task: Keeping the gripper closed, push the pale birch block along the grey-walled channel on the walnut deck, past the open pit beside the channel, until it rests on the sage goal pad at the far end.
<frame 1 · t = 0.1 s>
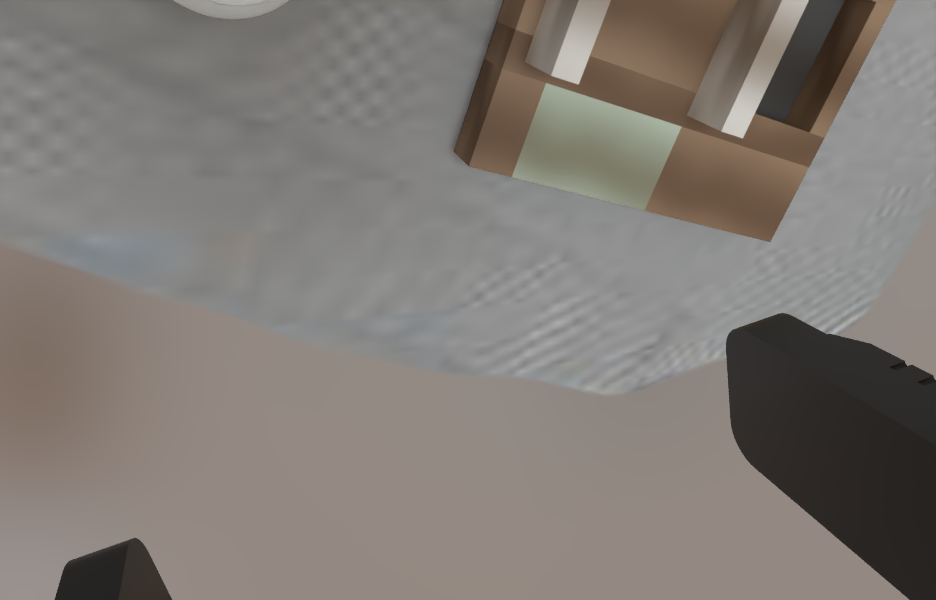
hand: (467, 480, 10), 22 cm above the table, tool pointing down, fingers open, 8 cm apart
channel deck: (691, 11, 32), on the table
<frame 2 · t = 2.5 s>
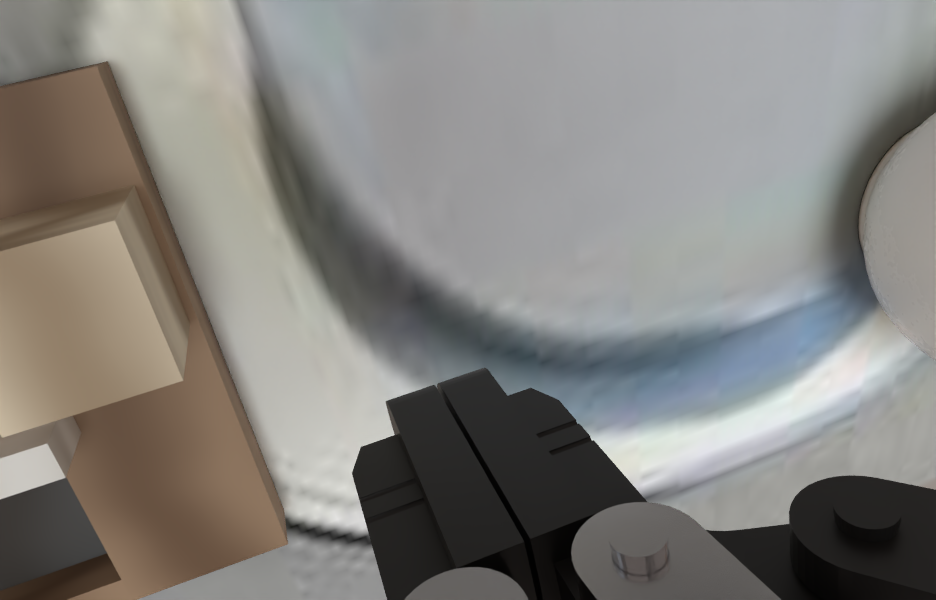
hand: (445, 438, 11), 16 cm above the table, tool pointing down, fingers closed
lidded bowl: (921, 200, 33), on the table
birch block: (85, 278, 22), point 2 cm above the table, touching channel deck
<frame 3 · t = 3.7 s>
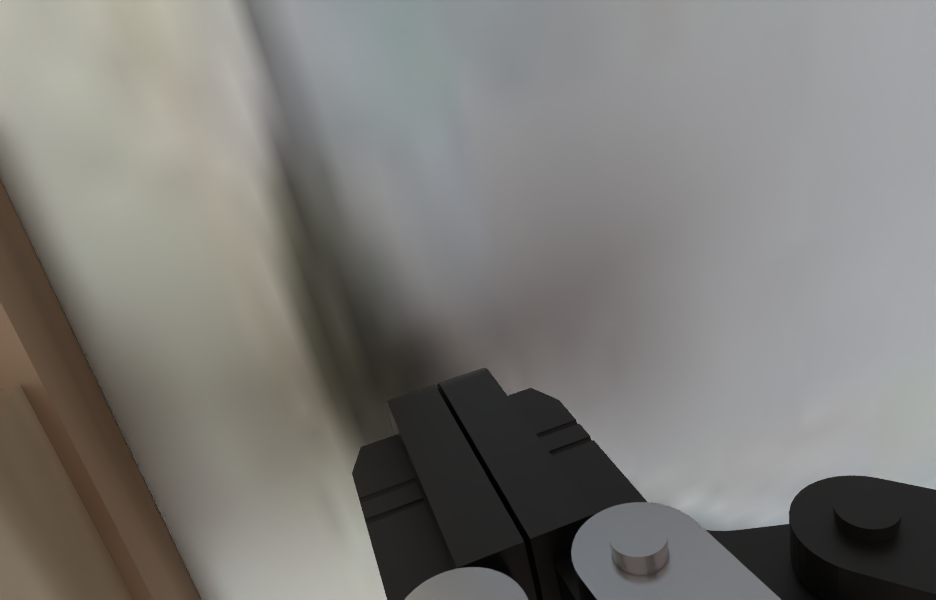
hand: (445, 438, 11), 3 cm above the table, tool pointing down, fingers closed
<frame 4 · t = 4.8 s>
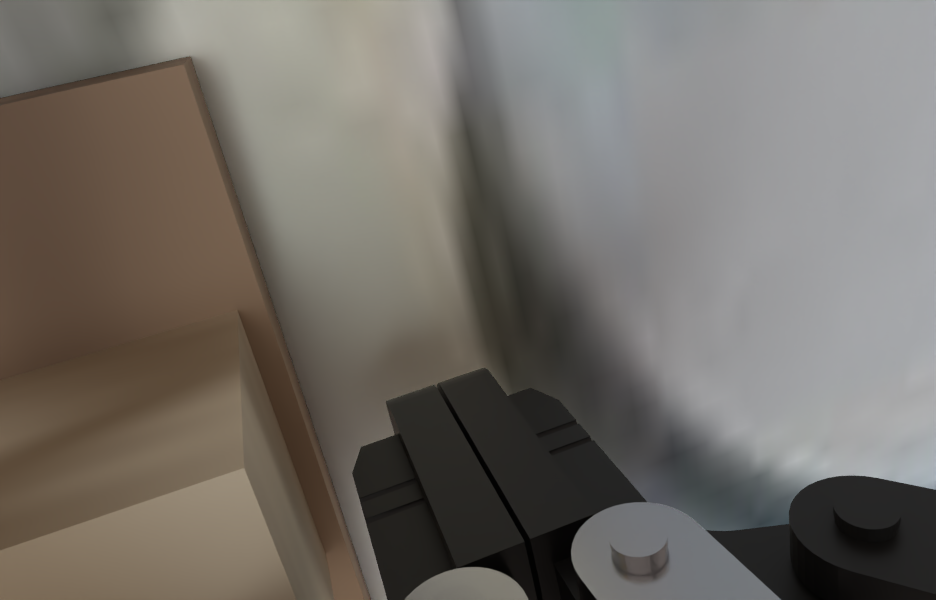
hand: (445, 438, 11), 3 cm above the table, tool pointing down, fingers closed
birch block: (132, 493, 11), point 2 cm above the table, touching channel deck, gripper
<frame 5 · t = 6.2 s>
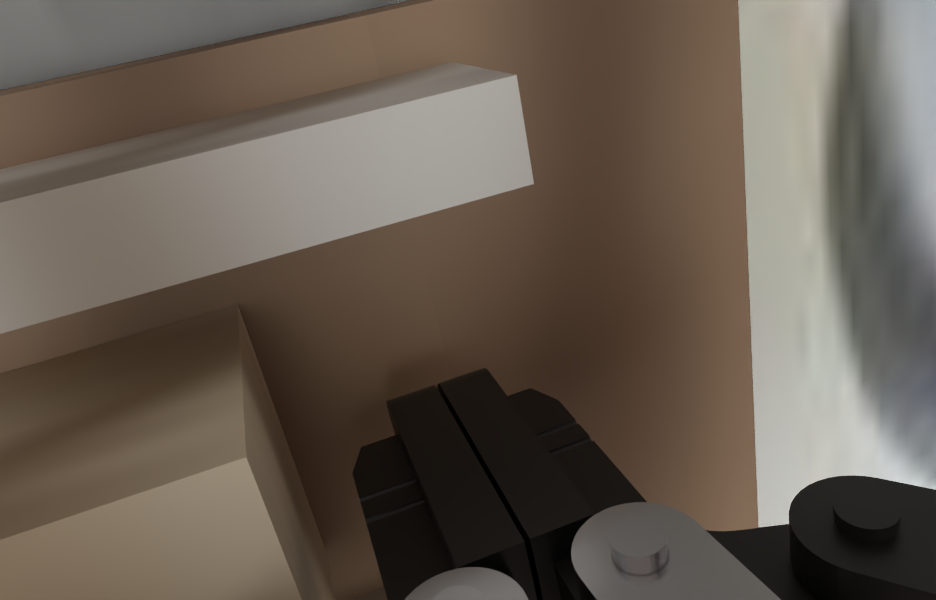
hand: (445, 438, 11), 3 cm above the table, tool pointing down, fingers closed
channel deck: (305, 515, 14), on the table
birch block: (132, 487, 11), point 2 cm above the table, touching gripper
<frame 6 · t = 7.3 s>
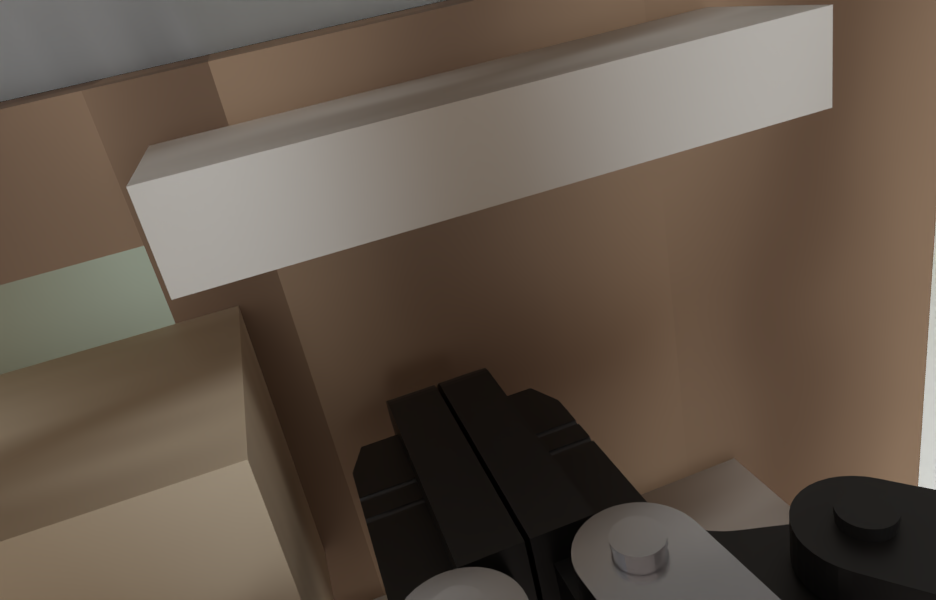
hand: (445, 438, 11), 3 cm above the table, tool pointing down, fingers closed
channel deck: (500, 452, 15), on the table
birch block: (131, 488, 11), point 2 cm above the table, touching channel deck, gripper
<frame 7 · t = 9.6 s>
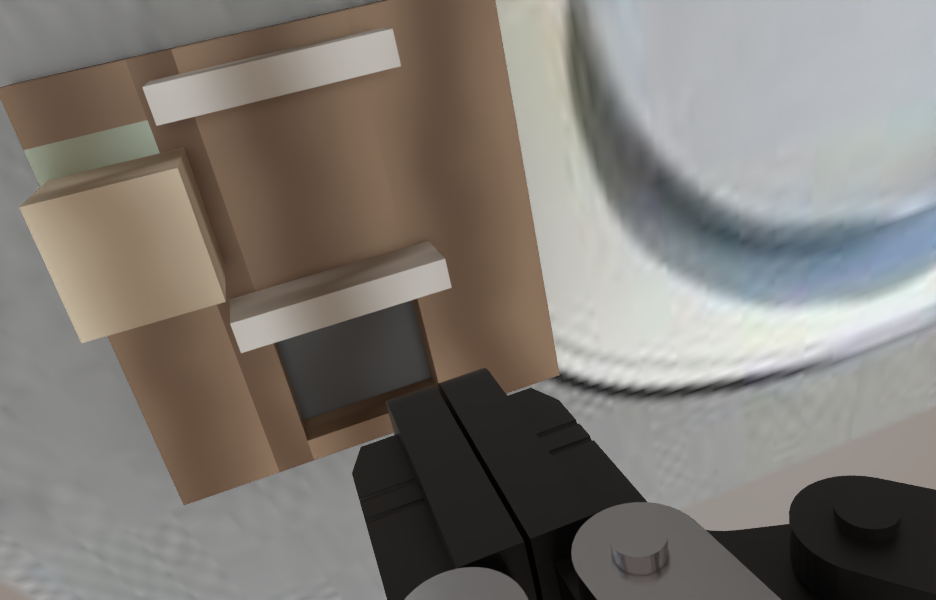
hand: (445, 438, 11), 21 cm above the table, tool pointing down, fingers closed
channel deck: (321, 243, 30), on the table
birch block: (141, 224, 26), point 2 cm above the table, touching channel deck
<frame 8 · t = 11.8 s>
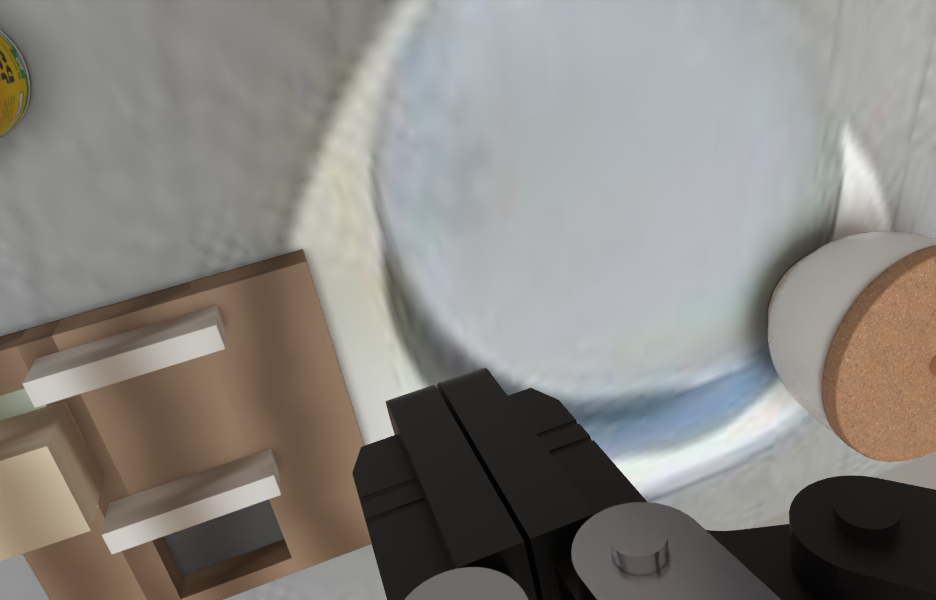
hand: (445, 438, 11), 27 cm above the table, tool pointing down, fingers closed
channel deck: (189, 445, 38), on the table
lidded bowl: (812, 301, 48), on the table
birch block: (35, 456, 34), point 2 cm above the table, touching channel deck
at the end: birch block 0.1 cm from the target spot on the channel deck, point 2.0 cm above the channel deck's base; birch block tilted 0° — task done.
